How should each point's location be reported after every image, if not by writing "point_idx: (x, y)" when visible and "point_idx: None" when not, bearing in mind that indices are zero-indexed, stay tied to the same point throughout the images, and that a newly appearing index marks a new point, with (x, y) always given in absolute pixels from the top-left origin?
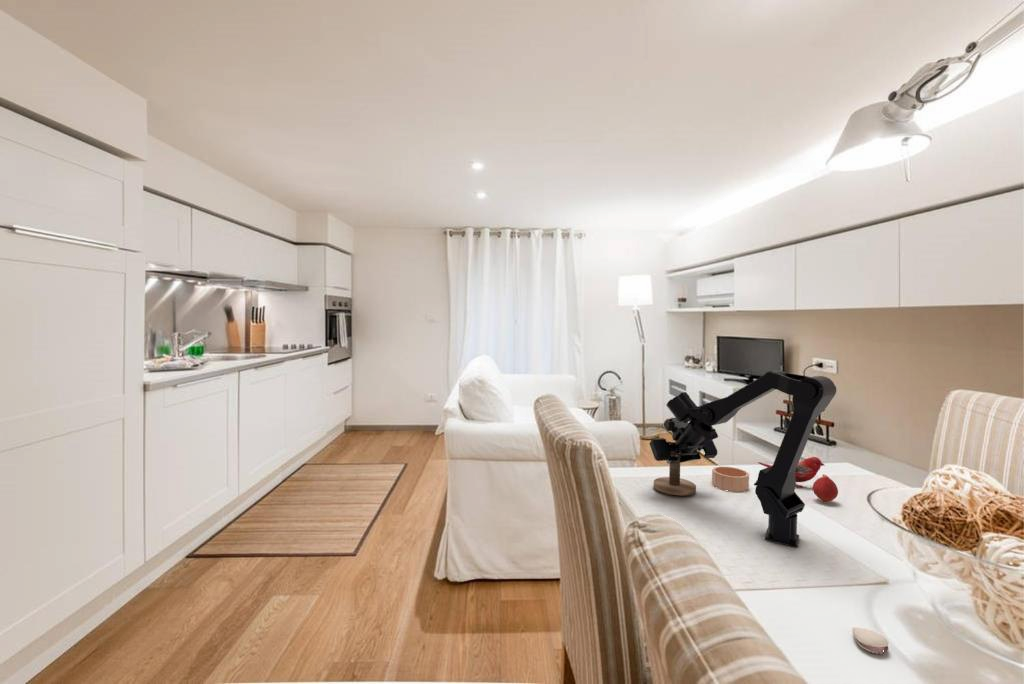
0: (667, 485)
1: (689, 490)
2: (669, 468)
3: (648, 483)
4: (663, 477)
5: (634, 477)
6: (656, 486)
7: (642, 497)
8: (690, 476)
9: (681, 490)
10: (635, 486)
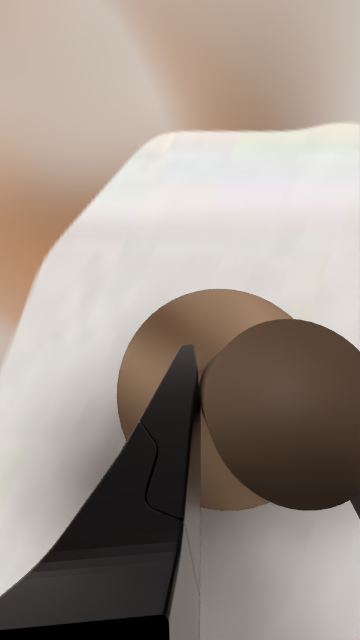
0: None
1: (264, 500)
2: (199, 377)
3: (137, 295)
4: (202, 292)
5: (109, 228)
6: (119, 403)
7: (35, 461)
8: (355, 223)
9: (219, 495)
10: (66, 326)
